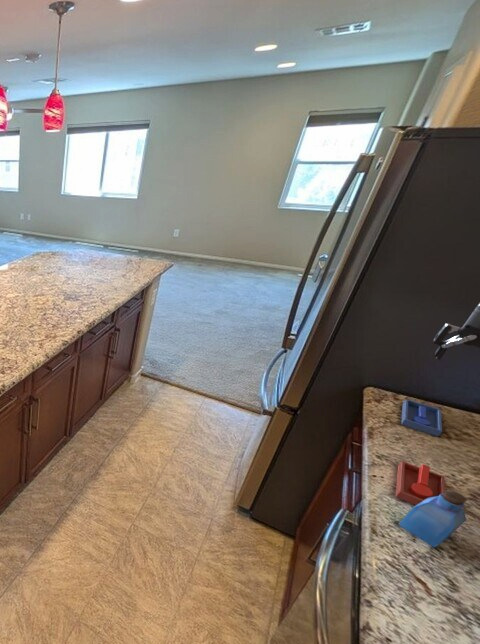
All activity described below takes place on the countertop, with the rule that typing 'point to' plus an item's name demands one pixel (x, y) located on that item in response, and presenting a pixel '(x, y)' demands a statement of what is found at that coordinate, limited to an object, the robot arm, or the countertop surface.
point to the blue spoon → (421, 416)
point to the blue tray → (431, 415)
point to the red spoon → (422, 483)
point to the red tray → (409, 476)
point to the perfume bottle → (436, 517)
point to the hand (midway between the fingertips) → (459, 363)
